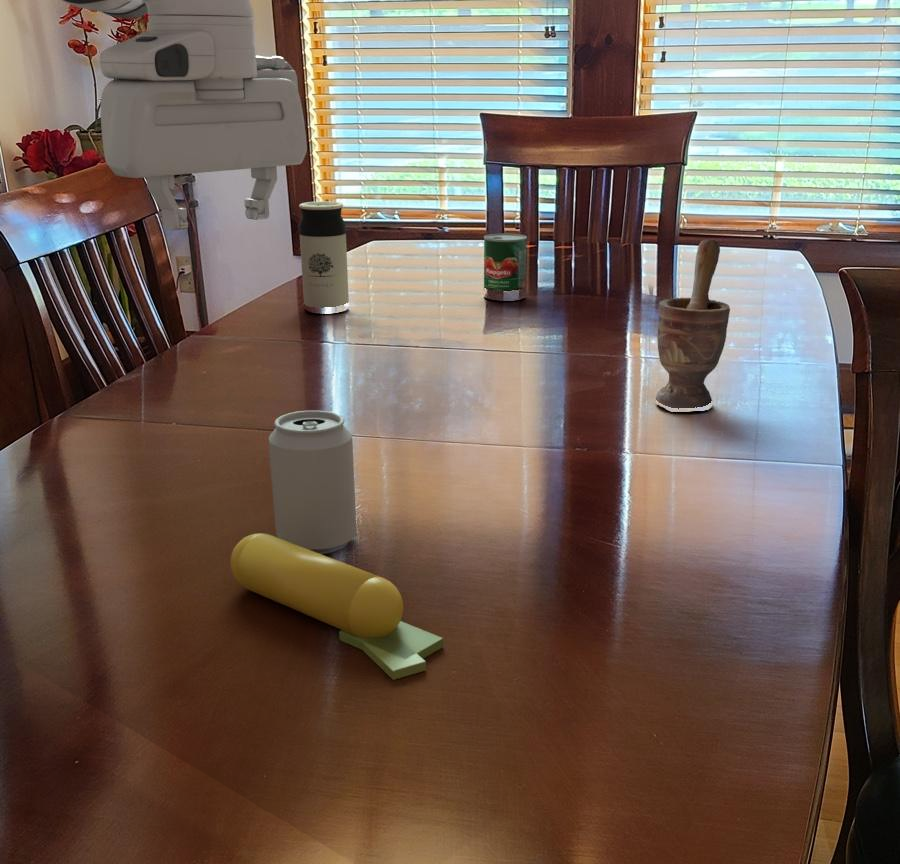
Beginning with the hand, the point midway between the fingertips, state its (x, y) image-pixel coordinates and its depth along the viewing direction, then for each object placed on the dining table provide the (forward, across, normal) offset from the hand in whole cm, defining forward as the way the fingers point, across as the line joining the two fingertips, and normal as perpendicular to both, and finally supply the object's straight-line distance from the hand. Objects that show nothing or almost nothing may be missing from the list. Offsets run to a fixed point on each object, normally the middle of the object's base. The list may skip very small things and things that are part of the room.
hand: (218, 223), depth 99 cm
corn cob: (+27, +13, +27) cm, 40 cm away
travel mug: (+27, -69, -59) cm, 95 cm away
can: (+27, +3, +14) cm, 31 cm away
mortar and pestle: (+26, -60, +18) cm, 68 cm away
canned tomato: (+27, -98, -42) cm, 110 cm away
